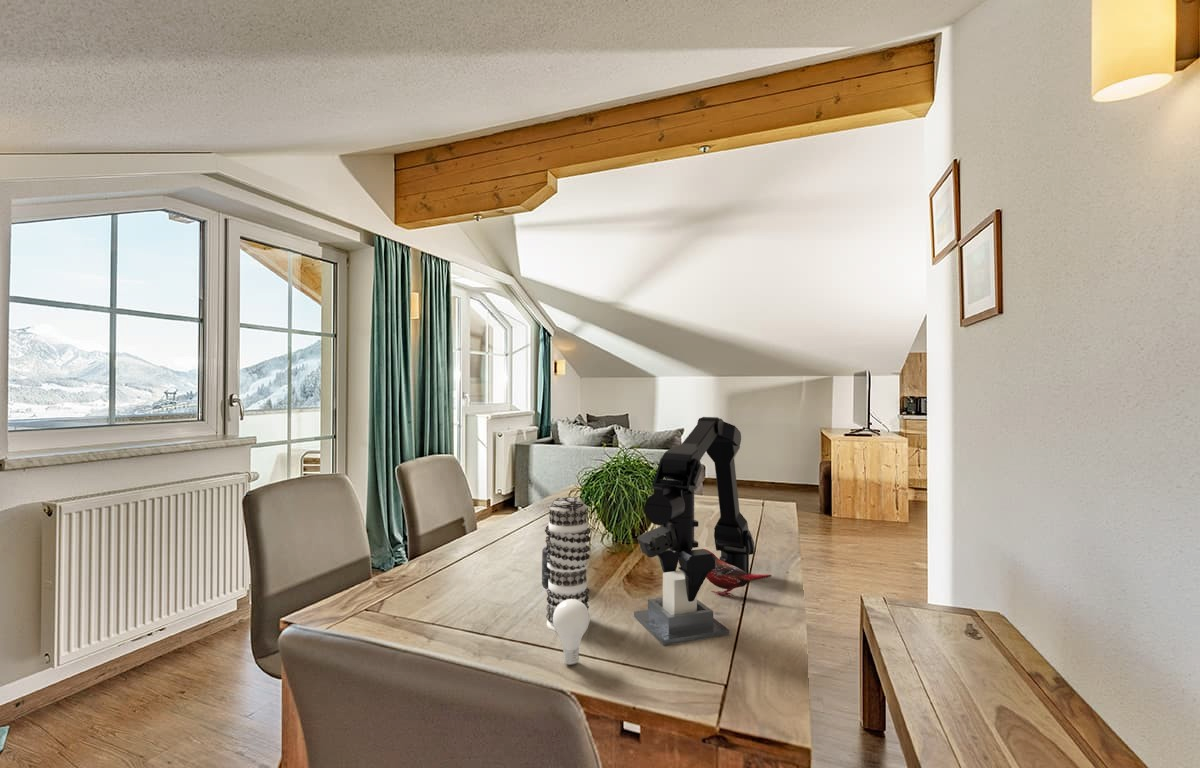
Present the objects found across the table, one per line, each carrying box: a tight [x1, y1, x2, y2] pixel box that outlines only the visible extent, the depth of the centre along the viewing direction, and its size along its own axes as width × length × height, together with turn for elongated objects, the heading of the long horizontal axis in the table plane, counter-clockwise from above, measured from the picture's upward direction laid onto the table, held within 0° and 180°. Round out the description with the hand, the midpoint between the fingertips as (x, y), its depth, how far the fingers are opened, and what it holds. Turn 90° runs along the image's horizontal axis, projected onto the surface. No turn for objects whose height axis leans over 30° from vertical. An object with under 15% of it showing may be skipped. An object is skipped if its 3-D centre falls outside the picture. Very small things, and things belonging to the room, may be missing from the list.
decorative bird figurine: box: [703, 548, 772, 597], centre depth 127 cm, size 3×18×10 cm, turn 64°
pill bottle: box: [541, 542, 549, 589], centre depth 134 cm, size 6×6×11 cm
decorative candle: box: [544, 496, 592, 633], centre depth 113 cm, size 9×9×25 cm
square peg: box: [662, 570, 698, 615], centre depth 112 cm, size 5×5×9 cm
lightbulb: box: [553, 599, 591, 666], centre depth 96 cm, size 6×6×11 cm
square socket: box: [633, 597, 730, 646], centre depth 112 cm, size 14×14×4 cm
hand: (679, 592), depth 112 cm, fingers open, 9 cm apart
